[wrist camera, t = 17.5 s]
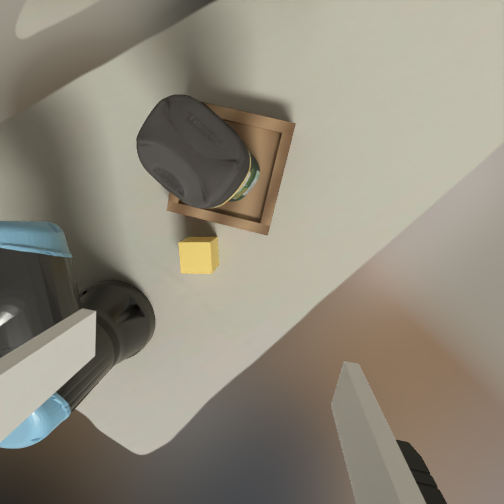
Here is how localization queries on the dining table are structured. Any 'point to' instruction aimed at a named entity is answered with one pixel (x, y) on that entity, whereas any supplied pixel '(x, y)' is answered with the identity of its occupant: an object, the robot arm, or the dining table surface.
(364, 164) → the dining table surface
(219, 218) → the walnut tray
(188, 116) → the coffee jar
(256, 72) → the dining table surface
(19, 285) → the robot arm
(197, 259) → the mustard cube
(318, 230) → the dining table surface
